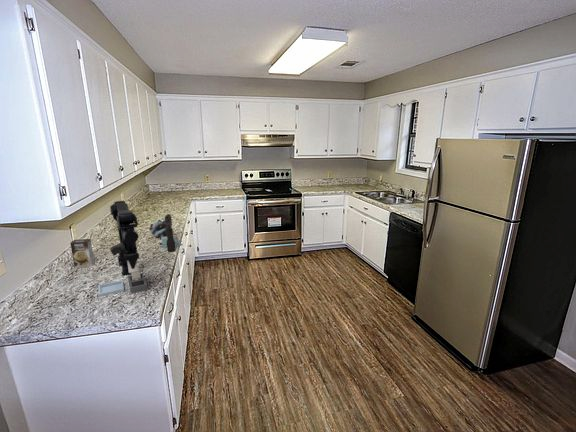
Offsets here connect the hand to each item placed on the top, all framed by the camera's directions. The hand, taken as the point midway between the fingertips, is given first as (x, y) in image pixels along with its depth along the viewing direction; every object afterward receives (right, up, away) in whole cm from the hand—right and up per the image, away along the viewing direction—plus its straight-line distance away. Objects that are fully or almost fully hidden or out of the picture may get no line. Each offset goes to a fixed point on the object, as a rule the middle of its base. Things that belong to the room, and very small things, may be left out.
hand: (132, 267), depth 154 cm
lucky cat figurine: (-22, +10, +88) cm, 91 cm away
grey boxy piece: (-1, -11, +7) cm, 13 cm away
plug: (0, -2, 0) cm, 2 cm away
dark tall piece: (-6, +4, +66) cm, 66 cm away
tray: (-12, -12, +2) cm, 17 cm away
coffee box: (-46, -5, +33) cm, 56 cm away
